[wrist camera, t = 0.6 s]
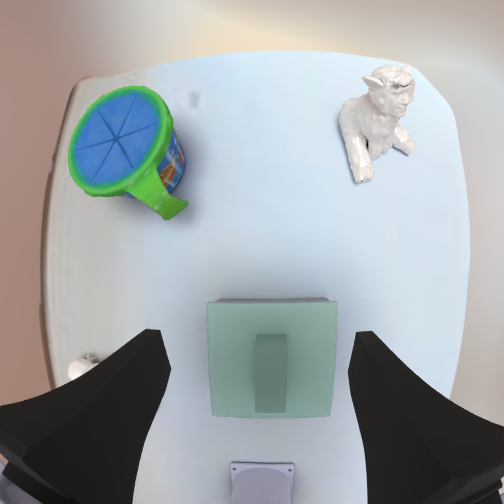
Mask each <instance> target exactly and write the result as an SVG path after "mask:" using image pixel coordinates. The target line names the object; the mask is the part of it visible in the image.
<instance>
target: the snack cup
mask: <svg viewBox="0 0 504 504" xmlns="http://www.w3.org/2000/svg"><path fill="white" fill-rule="evenodd" d="M68 165H69V170H70V174H71V176H72V178H73V180H74V182H75V183H76V184H77V185H78V186H79V187H80V188H81V189H83V190H84V191H85V193H86V194H88V195H90V196H92V197H98V196H101V197H112V196H123V197H129V198H136V199H139V200H140V201H141V202H143V203H144V204H146V205H147V206H148V207H150V208H151V209H152V210H154V211H155V212H157V213H158V214H160V215H161V216H162V217H163V219H164V220H169V219H171V218H172V217H174V216H175V215H177V214H178V213H179V212H180V211H181V210H183V209H184V208H185V207H186V206H187V205H188V201H183V200H180V199H178V198H175V197H173V196H171V195H170V194H169V193H171V191H172V190H173V189H174V188H175V186H176V185H177V184H178V182H179V180H180V179H181V177H182V175H183V172H184V166H185V157H184V153H183V150H182V147H181V145H180V143H179V140H178V138H177V135H176V133H175V131H174V128H173V118H172V116H171V114H170V111H169V109H168V107H167V105H166V103H165V102H164V100H163V99H162V98H161V97H160V96H159V95H158V94H157V93H156V92H154V91H153V90H151V89H149V88H147V87H144V86H128V87H123V88H119V89H117V90H114V91H112V92H110V93H108V94H106V95H103V96H101V97H100V98H99V99H98V100H96V101H95V102H94V103H93V104H92V105H91V106H90V107H89V108H88V109H87V111H86V113H85V114H84V115H83V117H82V118H81V119H80V121H79V122H78V124H77V126H76V128H75V130H74V132H73V135H72V138H71V141H70V145H69V150H68Z"/></svg>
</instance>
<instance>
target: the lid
mask: <svg viewBox="0 0 504 504" xmlns="http://www.w3.org/2000/svg"><path fill="white" fill-rule="evenodd" d="M206 307H207V336H208V358H209V376H210V392H211V407H212V416H224V417H242V418H306V417H323V416H330V412H331V402H332V392H333V380H334V367H335V352H336V331H337V302H336V301H325V302H280V303H229V302H208V303H206Z"/></svg>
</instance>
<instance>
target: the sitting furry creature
mask: <svg viewBox="0 0 504 504" xmlns="http://www.w3.org/2000/svg"><path fill="white" fill-rule="evenodd" d="M410 73H411V67H410V66H408V65H407V66H404V67H402V68H400V67H398V66H395V65H391V66H390V65H387V66H386V65H384V66H383V67H380V68H378V69H376V70H375V71H373V73H372V75H371V76H364V77H362V79H363V81H364V82H365V83H366V85H367V86H368V87H369V93H368V94H364V95H362V96H360V97H358V98H353V99H350V100H347V101H346V102H345V103H344V105H341V112H340V114H339V116H340V118H339V121H340V122H339V125H340V128H341V129H340V130H341V132H342V136H343V137H344V138H343V140H344V142H345V144H346V145H345V147H346V150H347V153H348V160H349V161H348V162H349V163H350V168H351V170H352V172H353V177H354V179H355V182H356V183H360V182H361V181H362V182H366V181H369V180H371V179H373V175H374V173H373V166H372V165H373V163H372V162H371V160H374V159H375V158H377V157H378V156H379V155H380V153H384V152H387V151H388V149H389V148H391V147H393V146H394V147H395V148H398V149H401V150H402V151H403V152H405V153H406V154H407V155H409V154H411V153H412V152H413V150H414V148H415V147H414V146H415V145H416V143H415V142H414V141H413V140H412V139H411V137H410V135H409V133H408V132H407V131H406V130H404V129H402V128H401V127H400V126H399V125H398V120H399V119H400V117H403V116H404V115H405V111H406V108H407V106H408V104H409V103H410V102H411V101H412V100H413V91H414V86H415V82H414V80H413V78H412V76H411V74H410ZM368 141H369V143H368V144H369V145H368V147H367V148H366V143H367V142H368Z"/></svg>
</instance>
